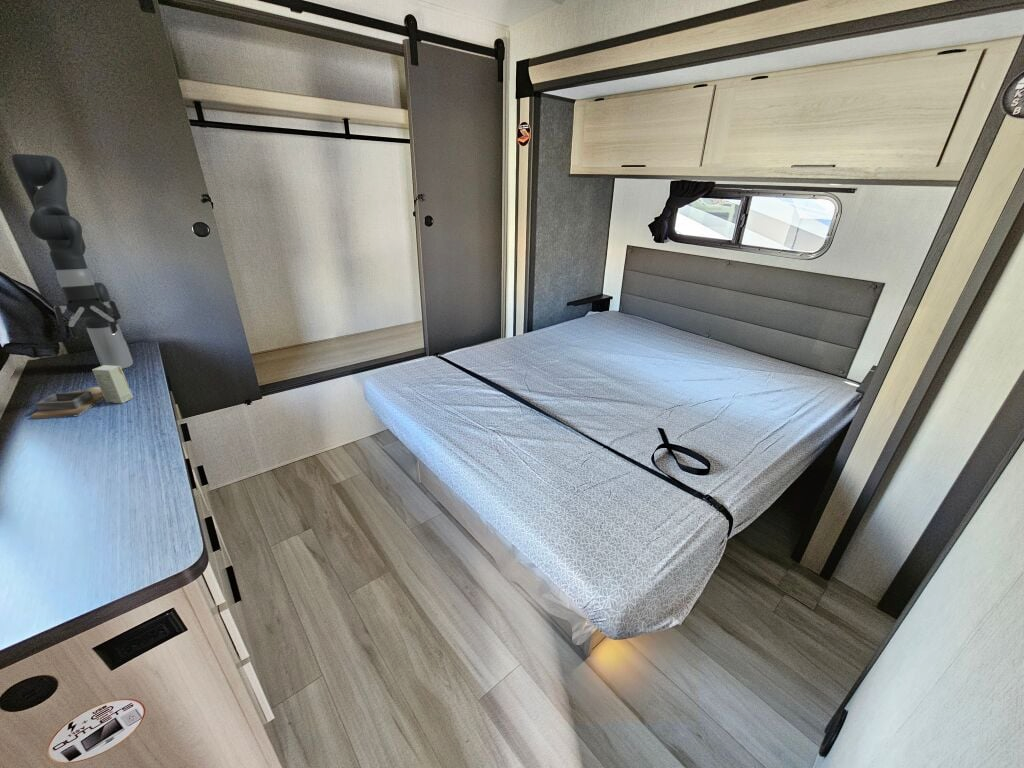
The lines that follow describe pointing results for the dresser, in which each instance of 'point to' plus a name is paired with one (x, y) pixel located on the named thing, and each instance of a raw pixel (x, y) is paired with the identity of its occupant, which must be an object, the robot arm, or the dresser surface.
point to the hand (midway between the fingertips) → (96, 335)
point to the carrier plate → (67, 403)
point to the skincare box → (112, 383)
